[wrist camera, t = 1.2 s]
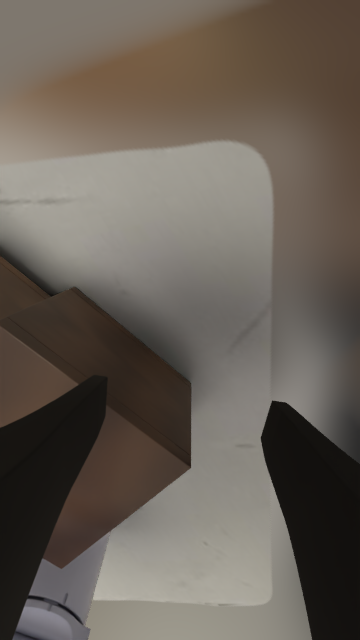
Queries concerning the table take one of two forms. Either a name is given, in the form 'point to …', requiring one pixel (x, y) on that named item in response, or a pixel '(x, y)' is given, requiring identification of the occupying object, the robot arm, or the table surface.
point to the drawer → (17, 290)
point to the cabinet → (121, 411)
